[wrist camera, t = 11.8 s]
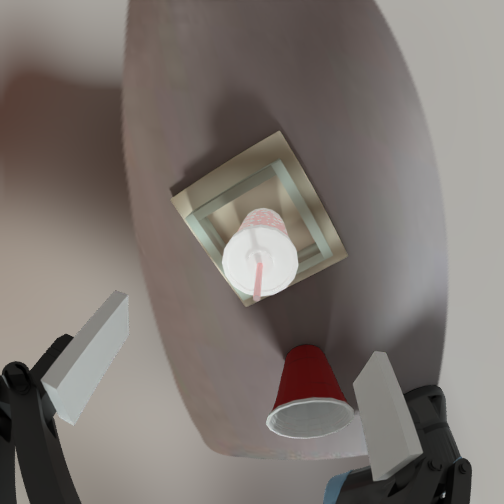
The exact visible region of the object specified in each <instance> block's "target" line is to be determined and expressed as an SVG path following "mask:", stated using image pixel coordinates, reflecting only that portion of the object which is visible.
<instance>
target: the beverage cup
mask: <svg viewBox="0 0 504 504" xmlns="http://www.w3.org/2000/svg"><path fill="white" fill-rule="evenodd" d="M222 265H223V269H224V273H225V276H226V277H227V279H228V280H229V281H230V283H231V284H232V285H233V287H235V288H237V289H238V290H240V291H242V292H243V293H245V294H249V295H253V300H254V301H259V300H260V298H261V296H269V295H274V294H276V293H278V292H280V291H282V290H284V289H286V288H287V286H288V285H289V284H290V283H291V282H292V281H293V279H294V278H295V275H296V272H297V269H298V266H299V265H298V257H297V250H296V248H295V246H294V245H293V243H292V241H291V240H290V238H289V236H288V233H287V231H286V228H285V225H284V222H283V220H282V219H281V217H280V215H279V214H278V213H276V212H275V211H273V210H271V209H267V208H260V209H255V210H254V211H252V212H250V213H249V214H248V215H247V216H246V218H245V219H244V221H243V223H242V224H241V226H240V228H239V230H238V231H237V233H235V234H234V235H233V236H232V238H231V239H230V241H229V242H228V244H227V245H226V247H225V248H224V253H223V259H222Z"/></svg>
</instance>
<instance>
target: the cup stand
mask: <svg viewBox="0 0 504 504" xmlns="http://www.w3.org/2000/svg"><path fill="white" fill-rule="evenodd" d="M170 200H171V202H172V203H173V205H174V206H175V208H176V209H177V211H178V212H179V214H180V215H181V217H182V218H183V219H184V221H185V222H186V224H187V225H188V227H189V228H190V230H191V231H192V233H193V234H194V235H195V237H196V238H197V240H198V241H199V243H200V244H201V246H202V247H203V248H204V250H205V251H206V253H207V254H208V255H209V257H210V258H211V260H212V261H213V263H214V264H215V265H216V267H217V268H218V270H219V271H220V272H221V274H222V275H223V277H224V278H225V279H226V281H227V282H228V283H229V285H230V286H231V288H232V289H233V290H234V292H235V293H236V294H237V296H238V297H239V299H240V300H241V301H242V303H243V304H244V305H245V307H248V306H250V305H252V304H254V303H256V302H258V301H254V300H253V295H249V294H245V293H243V292H242V291H240V290H238V289H237V288H235V287H233V285H232V284H231V283H230V281H229V280H228V279H227V277H226V276H225V273H224V269H223V265H222V259H223V253H224V248H225V247H226V245H227V244H228V242H229V241H230V239H231V238H232V236H233V235H234V234H235V233H237V231H238V230H239V228H240V226H241V224H242V223H243V221H244V219H245V218H246V216H247V215H248V214H249V213H250V212H252V211H254V210H255V209H260V208H267V209H271V210H273V211H275V212H276V213H278V214H279V215H280V217H281V219H282V220H283V222H284V225H285V228H286V231H287V233H288V236H289V238H290V240H291V241H292V243H293V245H294V246H295V248H296V250H297V257H298V265H299V266H298V269H297V272H296V275H295V278H294V279H293V281H292V282H291V283H290V284H289V285H288V286H287V287H289V286H291V285H293V284H295V283H297V282H299V281H301V280H303V279H305V278H307V277H309V276H311V275H313V274H315V273H317V272H319V271H321V270H323V269H325V268H327V267H329V266H331V265H333V264H335V263H336V262H338V261H340V260H342V259H344V258H346V257H348V255H347V253H346V250H345V248H344V246H343V244H342V242H341V240H340V238H339V236H338V234H337V232H336V230H335V228H334V226H333V224H332V222H331V220H330V218H329V216H328V214H327V213H326V211H325V209H324V207H323V205H322V203H321V201H320V199H319V197H318V196H317V194H316V192H315V190H314V188H313V186H312V185H311V183H310V181H309V179H308V178H307V176H306V174H305V172H304V170H303V169H302V167H301V165H300V164H299V162H298V160H297V158H296V157H295V155H294V153H293V152H292V150H291V148H290V147H289V145H288V143H287V142H286V140H285V138H284V137H283V135H282V134H281V132H280V131H278V132H276V133H274V134H272V135H271V136H269V137H267V138H265V139H264V140H262V141H260V142H259V143H257V144H255V145H253V146H252V147H250V148H248V149H247V150H245V151H243V152H242V153H240V154H238V155H237V156H235V157H234V158H232V159H230V160H229V161H227V162H225V163H224V164H222V165H221V166H219V167H218V168H216V169H214V170H213V171H211V172H210V173H208V174H207V175H205V176H204V177H202V178H201V179H199V180H198V181H196V182H195V183H193V184H192V185H190V186H189V187H187V188H186V189H184V190H183V191H182V192H180V193H179V194H177V195H176V196H174V197H173V198H172V199H170ZM269 296H271V295H269ZM269 296H261V298H260V300H262V299H265V298H267V297H269ZM260 300H259V301H260Z"/></svg>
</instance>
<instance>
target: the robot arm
mask: <svg viewBox="0 0 504 504" xmlns="http://www.w3.org/2000/svg"><path fill="white" fill-rule="evenodd" d="M128 336H129V316H128V294H125V293H122V292H119V291H114V292H113V293H112V294H111V296H110V297H109V298H108V299H107V300H106V301H105V302H104V303H103V305H102V306H101V307H100V308H99V309H98V310H97V311H96V313H95V314H94V315H93V316H92V317H91V318H90V319H89V321H88V322H87V323H86V324H85V325H84V326H83V328H82V329H81V330H80V331H79V332H78V334H77V335H76V336H75V337H72V336H70V335H68V334H64V335H63V336H61V337H59V338H57V339H56V340H55V341H54V343H53V344H52V345H51V347H49V348H48V350H47V351H46V353H44V354H43V356H42V357H41V358H40V359H39V361H38V362H37V363H36V364H35V365H34V367H33V368H32V369H31V370H30V371H29V368H28V367H27V366H26V365H25V364H24V363H22V362H17V361H15V362H11V363H9V364H7V365H6V366H5V367H4V369H3V371H2V376H1V375H0V504H17V501H16V490H15V447H16V452H17V457H18V461H19V466H20V470H21V474H22V478H23V482H24V485H25V489H26V492H27V495H28V498H29V501H30V504H81V501H80V499H79V497H78V494H77V492H76V489H75V487H74V484H73V482H72V479H71V476H70V473H69V470H68V468H67V465H66V461H65V458H64V455H63V452H62V448H61V445H60V441H59V437H58V433H57V429H56V425H55V421H54V418H53V416H54V414H55V413H56V412H57V414H58V415H59V417H60V418H61V419H63V420H64V421H66V422H68V423H70V424H72V425H75V423H76V422H77V420H78V418H79V416H80V414H81V413H82V411H83V409H84V407H85V406H86V404H87V402H88V400H89V398H90V397H91V395H92V394H93V392H94V390H95V388H96V387H97V385H98V383H99V382H100V380H101V378H102V377H103V375H104V373H105V372H106V370H107V369H108V367H109V366H110V364H111V362H112V361H113V359H114V357H115V356H116V354H117V353H118V351H119V350H120V348H121V346H122V345H123V343H124V342H125V340H126V339H127V337H128ZM353 387H354V391H355V395H356V400H357V404H358V408H359V412H360V417H361V421H362V426H363V430H364V435H365V440H366V444H367V449H368V454H369V459H370V466H367V467H363V468H360V469H356V470H350V471H349V472H346V473H343V474H340V475H336V476H334V477H332V478H331V479H330V480H329V482H328V484H327V486H326V489H325V493H324V500H323V504H469V503H470V492H471V477H472V468H471V464H470V462H469V461H468V460H467V459H465V458H462V457H461V456H460V453H459V450H458V448H457V445H456V443H455V440H454V438H453V435H452V433H451V430H450V428H449V426H448V423H447V415H446V399H445V396H444V394H443V391H442V389H441V388H440V387H438V386H425V387H421V388H418V389H416V390H413V391H411V392H409V393H407V394H405V395H403V393H402V391H401V388H400V386H399V383H398V381H397V378H396V376H395V373H394V371H393V368H392V366H391V364H390V361H389V359H388V356H387V354H386V352H379V351H374V353H373V354H372V356H371V357H370V359H369V360H368V362H367V363H366V365H365V366H364V368H363V369H362V371H361V372H360V374H359V375H358V377H357V378H356V380H355V381H354V383H353ZM444 493H446V494H445V497H444V498H443V497H442V496H443V494H444Z"/></svg>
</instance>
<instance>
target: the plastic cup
mask: <svg viewBox="0 0 504 504" xmlns="http://www.w3.org/2000/svg"><path fill="white" fill-rule="evenodd" d="M353 418H354V410H353V408H352V407H351V406H350V405H349V404H348V403H347V401H346V399H345V397H344V395H343V393H342V392H341V389H340V387H339V385H338V382H337V380H336V378H335V375H334V373H333V371H332V369H331V366H330V365H329V363H328V361H327V359H326V357H325V354H324V353H323V352H322V351H321V349H320V348H318V347H316V346H314V345H301V346H297V347H295V348H294V349H292V350H291V351H290V352H289V353H288V354H287V357H286V360H285V364H284V369H283V372H282V376H281V381H280V385H279V390H278V395H277V398H276V402H275V404H274V407H273V410H272V411H271V412H270V413H269V415H268V418H267V421H266V424H267V426H268V428H269V429H270V430H271V431H273V432H275V433H277V434H278V435H281V436H286V437H290V438H315V437H322V436H326V435H329V434H332V433H335V432H338V431H339V430H341V429H343V428H344V427H346V426H348V425H349V423H350V422H351V421H352V420H353Z"/></svg>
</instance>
